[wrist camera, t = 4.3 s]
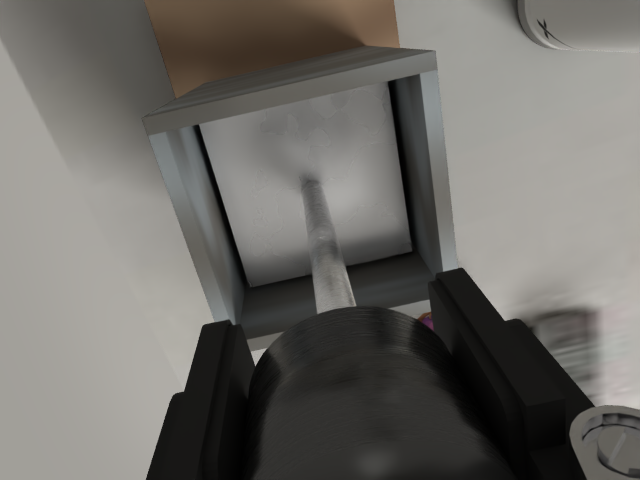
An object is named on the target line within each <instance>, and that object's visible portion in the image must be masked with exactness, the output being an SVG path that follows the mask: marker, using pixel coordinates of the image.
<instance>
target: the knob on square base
mask: <svg viewBox="0 0 640 480" xmlns="http://www.w3.org/2000/svg"><path fill="white" fill-rule="evenodd" d="M199 126H200V130H201V133H202V136H203V139H204V142H205V146H206V149H207V152H208V155H209V158H210V162H211V165H212V168H213V171H214V174H215V178H216V181H217V184H218V187H219V190H220V194H221V197H222V200H223V203H224V206H225V210H226V213H227V216H228V219H229V222H230V226H231V229H232V232H233V235H234V239H235V242H236V245H237V248H238V251H239V255H240V258H241V261H242V264H243V267H244V271H245V274H246V277H247V280H248V283H249V287H250V288H251V287H255V286H260V285H264V284H269V283H273V282H278V281H282V280H287V279H291V278H296V277H300V276H305V275H309V274H312V276H313V284H314V292H315V300H316V308H317V314H316V315H314V316H311V317H309V318H306V319H304V320H303V321H301V322H299V323H297V324H295V325H294V326H292V327H291V328H289V329H288V330H286V331H285V332H284V333H282V334H281V335H280V336H279V337H278V338H277V339H276V340H275V341H273V342H272V343H271V345H270V346H269V347H268V348H267V349H266V351H265V352H264V353H263V355H262V356H261V358H260V360H259V361H258V363H257V365H256V367H255V369H254V372H253V374H252V377H251V382H250V386H249V395H248V405H247V416H246V426H245V437H244V447H243V457H242V468H241V478H240V480H518V478H517V476H516V474H515V473H514V471H513V469H512V467H511V465H510V463H509V461H508V459H507V458H506V456H505V454H504V452H503V450H502V448H501V446H500V445H499V443H498V441H497V439H496V437H495V435H494V433H493V431H492V430H491V428H490V426H489V424H488V422H487V420H486V418H485V417H484V415H483V413H482V411H481V409H480V407H479V405H478V403H477V402H476V400H475V398H474V396H473V394H472V392H471V390H470V388H469V387H468V385H467V383H466V381H465V379H464V377H463V375H462V374H461V372H460V370H459V368H458V366H457V364H456V362H455V360H454V359H453V357H452V355H451V353H450V351H449V350H448V348H447V346H446V345H445V343H444V342H443V341H442V339H441V338H440V337H439V336H438V335H437V334H436V333H435V332H434V331H433V330H432V329H431V328H429V327H428V326H427V325H425V324H424V323H422V322H421V321H419V320H417V319H415V318H413V317H411V316H409V315H407V314H404V313H401V312H398V311H395V310H391V309H386V308H381V307H370V306H356V303H355V300H354V296H353V292H352V289H351V285H350V282H349V278H348V274H347V271H346V267H345V266H350V265H354V264H358V263H363V262H367V261H372V260H376V259H381V258H385V257H390V256H394V255H399V254H403V253H408V252H412V246H411V240H410V233H409V226H408V219H407V212H406V205H405V198H404V191H403V184H402V178H401V171H400V164H399V157H398V150H397V143H396V136H395V129H394V122H393V116H392V109H391V102H390V95H389V88H388V81H386V82H381V83H377V84H372V85H368V86H364V87H359V88H355V89H351V90H346V91H342V92H337V93H333V94H329V95H324V96H320V97H316V98H311V99H307V100H303V101H298V102H294V103H289V104H285V105H281V106H276V107H272V108H268V109H263V110H259V111H255V112H250V113H246V114H241V115H237V116H233V117H228V118H224V119H220V120H215V121H211V122H206V123H202V124H199Z"/></svg>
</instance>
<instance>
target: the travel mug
mask: <svg viewBox="0 0 640 480" xmlns="http://www.w3.org/2000/svg"><path fill="white" fill-rule="evenodd" d="M518 14H519V19H520V22H521V25H522V27H523V29H524V31H525V32H526V34H527V35H528V36H529V38H530V39H532V40H533V41H534V42H535V43H536V44H538V45H540V46H542V47H545V48H549V49H559V50H586V51H613V52H639V53H640V0H518Z"/></svg>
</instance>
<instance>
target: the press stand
mask: <svg viewBox="0 0 640 480" xmlns="http://www.w3.org/2000/svg"><path fill="white" fill-rule="evenodd" d="M144 2H145V5H146V8H147V11H148V14H149V17H150V20H151V23H152V26H153V30H154V33H155V36H156V39H157V42H158V45H159V48H160V51H161V54H162V57H163V60H164V63H165V66H166V70H167V73H168V76H169V79H170V82H171V85H172V88H173V91H174V94H175V97H176V99H175V100H173V101H171V102H170V103H168V104H166V105H164V106H162V107H161V108H159V109H157V110H155V111H154V112H152V113H150V114H148V115H146V116H145V117H143V118H142V121H143V124H144V126H145V129H146V132H147V135H148V137H149V140H150V143H151V146H152V149H153V151H154V154H155V157H156V160H157V163H158V165H159V168H160V171H161V174H162V176H163V179H164V182H165V185H166V188H167V190H168V193H169V196H170V199H171V201H172V204H173V207H174V210H175V213H176V215H177V218H178V221H179V224H180V227H181V229H182V232H183V235H184V238H185V240H186V243H187V246H188V249H189V252H190V254H191V257H192V260H193V263H194V266H195V268H196V271H197V274H198V277H199V279H200V282H201V285H202V288H203V291H204V293H205V296H206V299H207V302H208V304H209V307H210V310H211V313H212V316H213V318H214V321H215V322H219V321H223V320H228V319H229V320H230V321H231V322H232V324H233V325H236V324H241V326H242V328H243V331H244V334H245V337H246V340H247V343H248V346H249V349H250V352H251V351H255V350H260V349H264V348H268V347H269V346H270V345H271V343H272V342H273V341H275V340H276V339H277V338H278V337H279V336H280V335H281V334H282V333H284V332H285V331H286V330H288V329H289V328H291V327H292V326H294V325H295V324H297V323H299V322H301V321H303V320H304V319H306V318H309V317H311V316H314V315H316V314H317V308H316V300H315V292H314V284H313V276H312V274H309V275H305V276H300V277H296V278H291V279H287V280H282V281H278V282H273V283H269V284H264V285H260V286H255V287H251V288H250V287H249V283H248V280H247V277H246V274H245V271H244V267H243V264H242V261H241V258H240V255H239V251H238V248H237V245H236V242H235V239H234V235H233V232H232V229H231V226H230V222H229V219H228V216H227V213H226V210H225V206H224V203H223V200H222V197H221V194H220V190H219V187H218V184H217V181H216V178H215V174H214V171H213V168H212V165H211V162H210V158H209V155H208V152H207V149H206V146H205V142H204V139H203V136H202V133H201V130H200V126H199V124H202V123H206V122H211V121H215V120H220V119H224V118H228V117H233V116H237V115H241V114H246V113H250V112H255V111H259V110H263V109H268V108H272V107H276V106H281V105H285V104H289V103H294V102H298V101H303V100H307V99H311V98H316V97H320V96H324V95H329V94H333V93H337V92H342V91H346V90H351V89H355V88H359V87H364V86H368V85H372V84H377V83H381V82H386V81H388V88H389V95H390V102H391V109H392V116H393V122H394V129H395V136H396V143H397V150H398V157H399V164H400V171H401V178H402V184H403V191H404V198H405V205H406V212H407V219H408V226H409V233H410V240H411V246H412V252H408V253H403V254H399V255H394V256H390V257H385V258H381V259H376V260H372V261H367V262H363V263H358V264H354V265H350V266H345V267H346V271H347V274H348V278H349V282H350V285H351V289H352V292H353V296H354V300H355V303H356V306H370V307H381V308H386V309H391V310H395V311H398V312H401V313H404V314H407V315H409V316H414V315H418V314H423V313H427V312H431V307H430V300H429V293H428V282H429V281H434V280H435V275H436V273H439V272H444V271H448V270H453V269H457V268H458V264H457V254H456V244H455V235H454V225H453V215H452V206H451V196H450V186H449V176H448V167H447V157H446V147H445V137H444V128H443V118H442V108H441V99H440V89H439V79H438V69H437V60H436V51H433V50H420V49H406V48H400V44H399V37H398V29H397V22H396V14H395V6H394V0H144Z"/></svg>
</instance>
